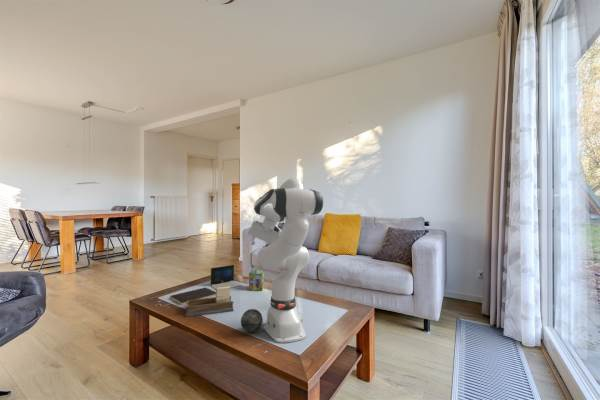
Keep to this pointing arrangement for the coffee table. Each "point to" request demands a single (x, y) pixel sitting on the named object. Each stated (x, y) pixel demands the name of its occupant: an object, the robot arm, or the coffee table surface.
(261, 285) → the chalk box
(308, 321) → the coffee table surface
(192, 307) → the chute
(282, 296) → the robot arm
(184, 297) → the hardcover book
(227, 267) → the laptop
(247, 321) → the decorative stone
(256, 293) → the coffee table surface
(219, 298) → the block
